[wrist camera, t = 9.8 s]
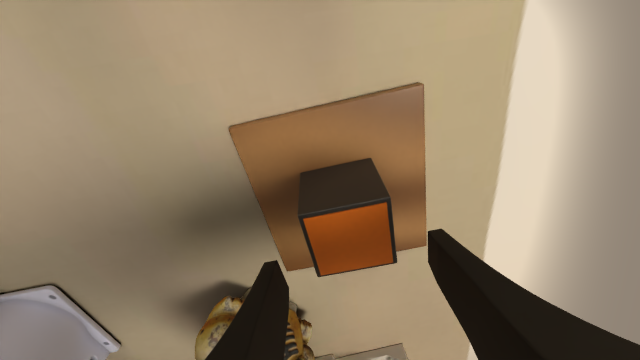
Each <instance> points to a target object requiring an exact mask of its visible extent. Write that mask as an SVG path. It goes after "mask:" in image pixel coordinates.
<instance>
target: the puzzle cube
mask: <svg viewBox="0 0 640 360" xmlns="http://www.w3.org/2000/svg"><path fill="white" fill-rule="evenodd" d="M297 216H298V219H299V222H300V225H301V228H302V231H303V234H304V237H305V240H306V243H307V246H308V249H309V252H310V255H311V258H312V261H313V265H314V268H315V271H316V274H317V276H318V277H322V276H328V275H333V274H339V273H344V272H350V271H355V270H361V269H366V268H372V267H377V266H383V265H388V264H394V263H397V255H396V245H395V235H394V224H393V214H392V204H391V197H390V195H389V193H388V191H387V189H386V187H385V185H384V183H383V181H382V179H381V177H380V175H379V173H378V171H377V169H376V167H375V165H374V162H373V160H372V159H371V158H367V159H362V160H358V161H353V162H348V163H343V164H339V165H334V166H329V167H325V168H320V169H315V170H311V171H306V172H301V173H300V182H299V199H298V215H297Z"/></svg>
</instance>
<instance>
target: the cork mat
mask: <svg viewBox="0 0 640 360" xmlns="http://www.w3.org/2000/svg"><path fill="white" fill-rule="evenodd" d="M229 132H230V134H231V137H232V139H233V141H234V144H235V146H236V149H237V151H238V154H239V156H240V158H241V161H242V163H243V166H244V168H245V171H246V173H247V175H248V178H249V180H250V183H251V185H252V188H253V190H254V192H255V195H256V197H257V200H258V202H259V205H260V207H261V209H262V212H263V214H264V217H265V219H266V222H267V224H268V226H269V229H270V231H271V234H272V236H273V239H274V241H275V243H276V246H277V248H278V251H279V253H280V256H281V258H282V260H283V263H284V265H285V268H286V270H287V271H293V270H298V269H304V268H309V267H314V265H313V261H312V258H311V255H310V252H309V249H308V246H307V243H306V240H305V237H304V234H303V231H302V228H301V225H300V222H299V219H298V216H297V215H298V199H299V182H300V173H301V172H306V171H311V170H315V169H320V168H325V167H329V166H334V165H339V164H343V163H348V162H353V161H358V160H362V159H367V158H371V159H372V160H373V162H374V165H375V167H376V169H377V171H378V173H379V175H380V177H381V179H382V181H383V183H384V185H385V187H386V189H387V191H388V193H389V195H390V197H391V204H392V214H393V224H394V235H395V245H396V251H401V250H406V249H412V248H417V247H423V246H426V245H427V244H426V185H425V125H424V84H422V83H416V84H411V85H407V86H403V87H398V88H394V89H390V90H385V91H381V92H377V93H372V94H368V95H364V96H359V97H355V98H351V99H346V100H342V101H338V102H333V103H329V104H325V105H320V106H316V107H312V108H307V109H303V110H299V111H294V112H290V113H286V114H281V115H277V116H273V117H268V118H264V119H260V120H255V121H251V122H247V123H242V124H238V125H234V126H231V127H230V128H229Z"/></svg>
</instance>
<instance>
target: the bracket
mask: <svg viewBox="0 0 640 360" xmlns="http://www.w3.org/2000/svg"><path fill="white" fill-rule="evenodd" d="M315 360H408V358H407V355H406V353H405V350H404V347H403V344H398V345H394V346H389V347H385V348H380V349H376V350H372V351H367V352H363V353H359V354H354V355H350V356H346V357H341V358H337V359H335V358H334V356H333V355H332V354H331V355H327V356H323V357H318V358H315Z"/></svg>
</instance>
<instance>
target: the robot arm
mask: <svg viewBox="0 0 640 360" xmlns="http://www.w3.org/2000/svg"><path fill="white" fill-rule="evenodd" d="M428 263H429V265H430V267H431V270H432V272H433V275H434V277H435V279H436V281H437V284H438V285H439V287H440V289H441V291H442V293H443V294H444V296H445V298H446V300H447V301H448V303H449V305H450V307H451V308H452V310H453V312H454V314H455V315H456V317H457V319H458V321H459V322H460V324H461V326H462V328H463V329H464V331H465V333H466V335H467V337H468V339H469V341H470V343H471V345H472V347H473V349H474V351H475V354H476V356H477V358H478V360H640V345H638V344H636V343H633V342H631V341H629V340H626V339H624V338H621V337H619V336H617V335H614V334H612V333H610V332H608V331H606V330H603V329H601V328H599V327H597V326H595V325H593V324H590V323H588V322H586V321H584V320H582V319H580V318H578V317H576V316H574V315H572V314H570V313H568V312H566V311H564V310H562V309H560V308H558V307H556V306H554V305H552V304H550V303H549V302H547V301H545V300H543V299H541V298H540V297H538V296H536V295H534V294H532V293H531V292H529V291H527V290H526V289H524V288H522V287H521V286H519V285H518V284H516V283H514V282H513V281H511V280H510V279H508V278H507V277H505V276H504V275H502V274H500V273H499V272H497V271H496V270H495V269H493V268H492V267H490V266H489V265H488V264H486V263H485V262H483V261H482V260H481V259H479V258H478V257H477V256H475V255H474V254H473V253H471V252H470V251H469V250H467V249H466V248H465V247H464V246H462V245H461V244H460V243H459V242H457V241H456V240H455V239H454V238H452V237H451V236H450V235H449V234H448V233H446V232H445V231H444V230H442V229H437V230H432V231H428ZM288 315H289V287H288V285H287V282H286V280H285V278H284V275H283V273H282V271H281V268H280V266H279V264H278V261H277V260H276V261H271V262H265V263H264V265H263V266H262V268H261V270H260V272H259V274H258V276H257V278H256V280H255V282H254V284H253V286H252V288H251V290H250V291H249V293H248V295H247V297H246V298H245V300H244V302H243V304H242V306H241V307H240V309H239V311H238V312H237V314H236V315H235V317H234V319H233V320H232V322H231V323H230V325H229V327H228V328H227V330H226V331H225V333H224V334H223V335H222V337H221V338H220V340H219V341H218V343H217V344H216V345H215V347H214V348H213V349H212V351H211V352H210V353H209V355H208V356H207V357H206V358H205V360H284V354H285V344H286V335H287V325H288ZM120 347H121V346H120V344H119V343H118V342H117V341H116V340H114V339H113V338H112V337H111V336H110V335H109V334H108V333H107V332H106V331H104V330H103V329H102V328H101V327H100V326H99V325H98V324H97V323H96V322H94V321H93V320H92V319H91V318H90V317H89V316H88V315H87V314H86V313H84V312H83V311H82V310H81V309H80V308H79V307H78V306H77V305H76V304H74V303H73V302H72V301H71V300H70V299H69V298H68V297H67V296H65V295H64V294H63V293H62V292H61V291H60V290H59V289H58V288H56V287H54V286H51V285H49V286H43V287H38V288H33V289H28V290H22V291H17V292H12V293H7V294H2V295H0V360H106V358H107V357H108V355H109V354H110V353H111V352H116V351H118V350H119V348H120Z"/></svg>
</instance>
